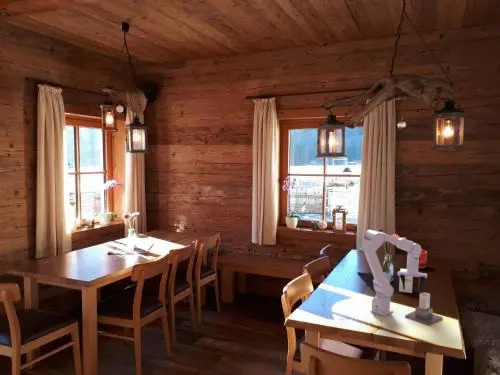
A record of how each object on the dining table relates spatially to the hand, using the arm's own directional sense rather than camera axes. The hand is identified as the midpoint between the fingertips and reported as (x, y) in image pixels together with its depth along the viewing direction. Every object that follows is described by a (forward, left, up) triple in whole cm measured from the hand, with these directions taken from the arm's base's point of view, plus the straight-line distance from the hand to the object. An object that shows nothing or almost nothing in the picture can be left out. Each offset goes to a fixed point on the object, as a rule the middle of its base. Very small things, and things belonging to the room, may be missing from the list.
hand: (411, 289), depth 222 cm
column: (-7, -11, -6) cm, 15 cm away
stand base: (-7, -11, -10) cm, 17 cm away
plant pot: (+79, +40, -11) cm, 89 cm away
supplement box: (+24, +17, -11) cm, 31 cm away
